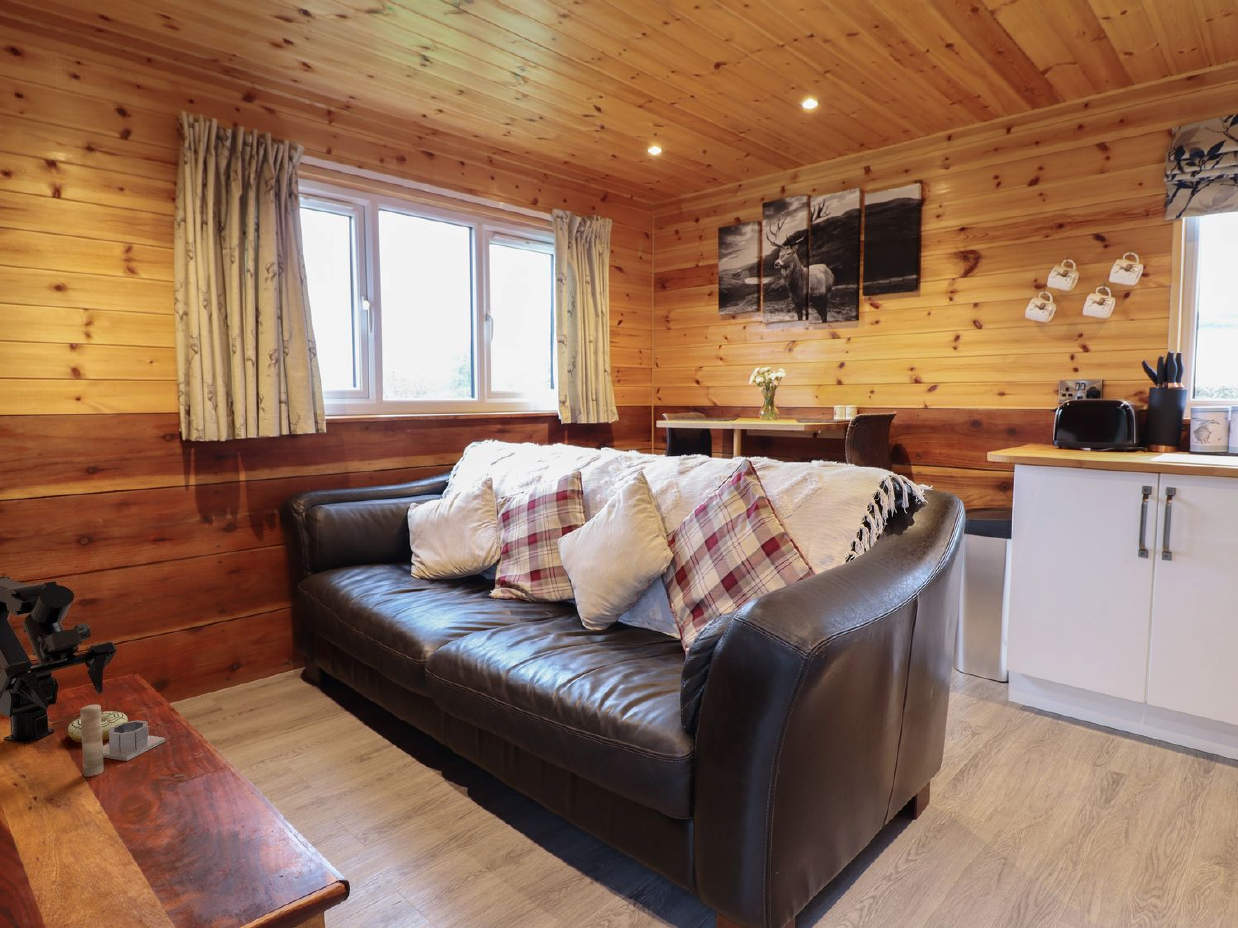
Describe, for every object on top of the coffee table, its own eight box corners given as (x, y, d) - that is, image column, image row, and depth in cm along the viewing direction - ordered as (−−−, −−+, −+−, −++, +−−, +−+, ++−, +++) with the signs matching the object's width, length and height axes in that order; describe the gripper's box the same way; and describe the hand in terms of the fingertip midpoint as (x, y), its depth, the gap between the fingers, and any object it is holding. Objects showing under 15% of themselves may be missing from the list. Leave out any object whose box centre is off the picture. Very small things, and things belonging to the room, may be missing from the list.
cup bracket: (92, 755, 149) (91, 733, 149) (131, 736, 158) (131, 716, 158) (126, 760, 147) (126, 739, 147) (165, 741, 156) (164, 720, 155)
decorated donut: (87, 750, 152) (86, 732, 152) (57, 739, 157) (56, 722, 156) (138, 729, 162) (137, 713, 161) (108, 720, 166) (107, 704, 166)
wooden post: (79, 775, 141) (76, 710, 140) (95, 767, 144) (92, 703, 143) (92, 777, 140) (89, 712, 139) (107, 769, 143) (104, 705, 142)
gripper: (0, 624, 139) (28, 693, 134) (110, 603, 154) (138, 664, 149) (-14, 657, 143) (12, 725, 138) (94, 633, 159) (121, 693, 154)
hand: (74, 700), depth 145 cm, fingers open, 9 cm apart
